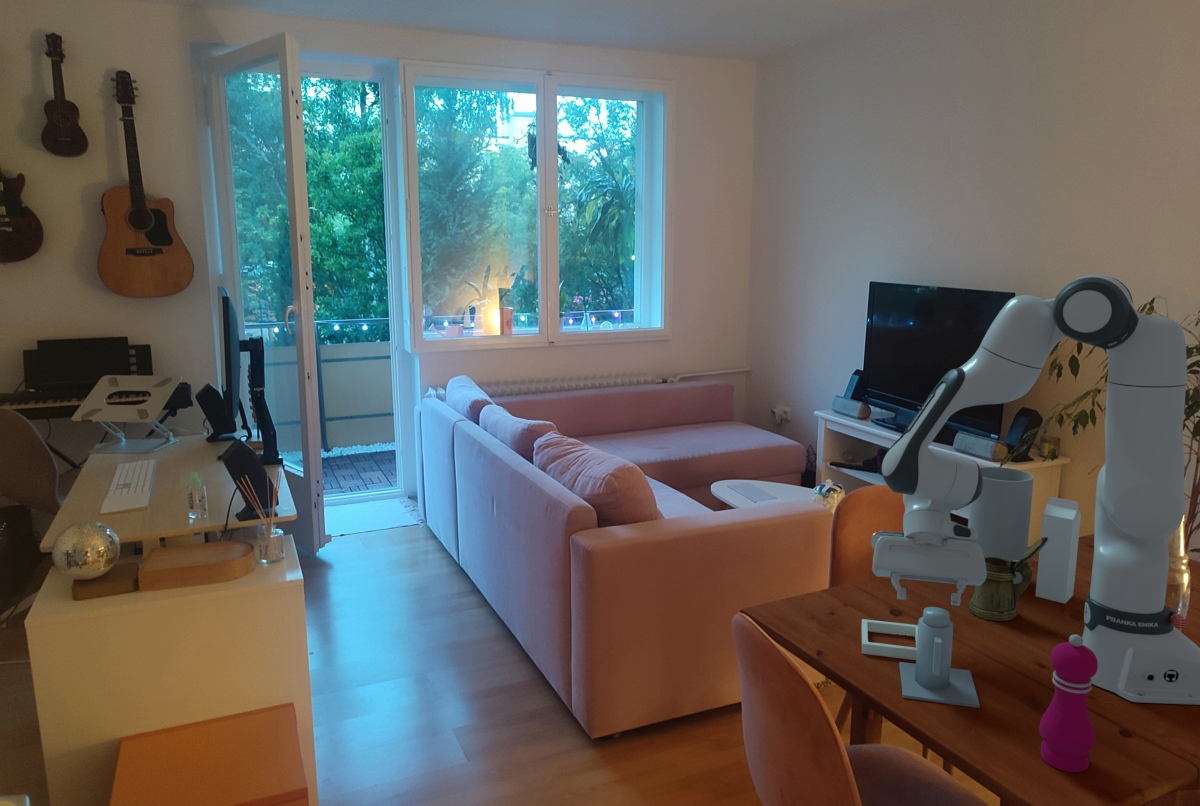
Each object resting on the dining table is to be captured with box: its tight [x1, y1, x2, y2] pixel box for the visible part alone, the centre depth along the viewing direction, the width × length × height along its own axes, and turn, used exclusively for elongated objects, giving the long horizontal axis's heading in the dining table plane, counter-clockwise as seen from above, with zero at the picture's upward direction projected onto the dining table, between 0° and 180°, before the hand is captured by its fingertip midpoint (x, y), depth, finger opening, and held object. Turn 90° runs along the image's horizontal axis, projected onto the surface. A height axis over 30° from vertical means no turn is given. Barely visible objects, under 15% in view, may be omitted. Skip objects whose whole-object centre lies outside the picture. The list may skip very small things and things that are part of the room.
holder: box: [861, 618, 918, 661], centre depth 160 cm, size 11×11×2 cm
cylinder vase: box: [967, 466, 1035, 584], centre depth 189 cm, size 12×12×25 cm
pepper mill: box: [1038, 634, 1098, 773], centre depth 122 cm, size 7×7×20 cm
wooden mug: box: [968, 537, 1048, 622], centre depth 171 cm, size 9×14×18 cm, turn 60°
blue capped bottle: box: [915, 606, 954, 690], centre depth 143 cm, size 6×8×13 cm
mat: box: [898, 661, 981, 709], centre depth 145 cm, size 12×12×1 cm
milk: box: [1035, 496, 1082, 605], centre depth 179 cm, size 6×6×22 cm
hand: (928, 601), depth 155 cm, fingers open, 8 cm apart
